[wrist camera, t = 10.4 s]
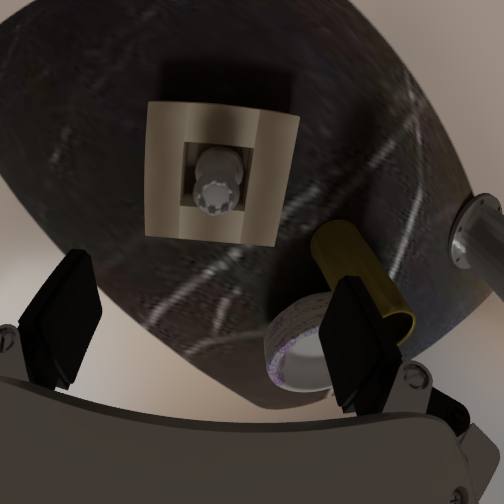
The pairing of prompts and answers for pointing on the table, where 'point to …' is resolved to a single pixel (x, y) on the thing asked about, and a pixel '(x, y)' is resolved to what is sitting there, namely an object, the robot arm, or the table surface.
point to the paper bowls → (298, 346)
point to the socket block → (184, 162)
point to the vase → (361, 273)
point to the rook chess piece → (218, 180)
